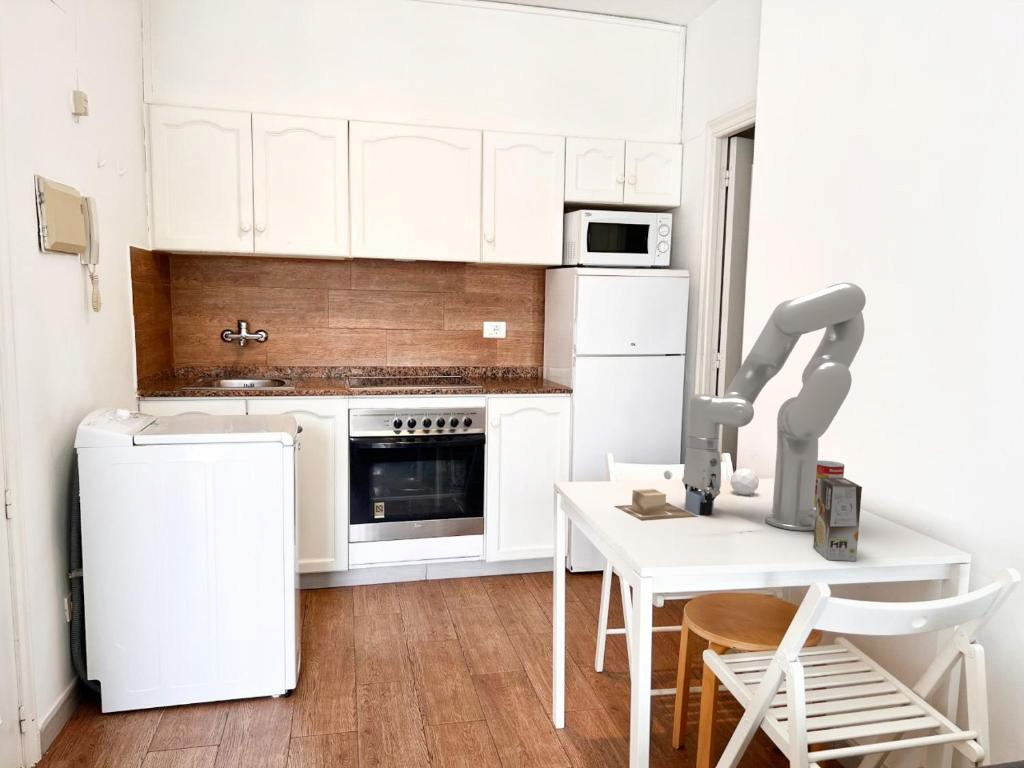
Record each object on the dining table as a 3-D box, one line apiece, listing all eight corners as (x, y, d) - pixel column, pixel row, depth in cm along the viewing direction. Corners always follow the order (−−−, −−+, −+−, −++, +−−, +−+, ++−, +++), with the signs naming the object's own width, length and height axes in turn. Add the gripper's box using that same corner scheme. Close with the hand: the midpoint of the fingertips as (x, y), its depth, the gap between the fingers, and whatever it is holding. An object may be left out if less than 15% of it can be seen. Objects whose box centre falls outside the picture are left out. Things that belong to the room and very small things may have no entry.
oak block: (665, 514, 187) (666, 494, 186) (644, 515, 184) (645, 495, 184) (652, 507, 192) (653, 488, 192) (631, 509, 190) (632, 489, 190)
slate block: (712, 518, 189) (714, 495, 188) (696, 519, 187) (697, 496, 186) (701, 513, 193) (702, 490, 193) (684, 514, 192) (685, 491, 191)
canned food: (823, 501, 212) (827, 459, 210) (847, 508, 205) (850, 465, 203) (803, 503, 208) (807, 461, 207) (827, 510, 201) (830, 466, 200)
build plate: (697, 521, 185) (698, 516, 185) (641, 525, 180) (641, 520, 180) (666, 507, 198) (667, 502, 198) (613, 510, 193) (613, 505, 193)
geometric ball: (749, 505, 216) (761, 487, 210) (723, 492, 217) (733, 474, 212) (754, 488, 221) (765, 470, 216) (728, 476, 223) (739, 458, 218)
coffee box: (857, 561, 158) (863, 486, 157) (827, 560, 158) (832, 485, 157) (840, 548, 167) (845, 477, 166) (811, 547, 167) (816, 476, 166)
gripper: (736, 449, 182) (732, 522, 184) (695, 437, 198) (691, 505, 199) (710, 450, 179) (706, 524, 181) (671, 438, 195) (667, 507, 197)
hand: (698, 513), depth 190 cm, fingers closed on slate block, 5 cm apart
